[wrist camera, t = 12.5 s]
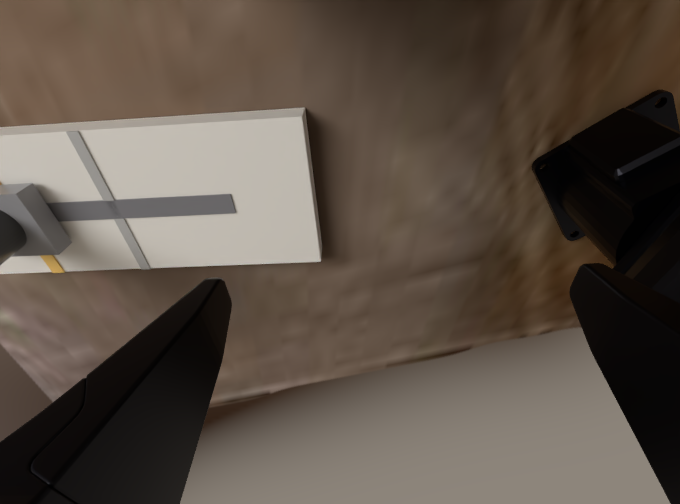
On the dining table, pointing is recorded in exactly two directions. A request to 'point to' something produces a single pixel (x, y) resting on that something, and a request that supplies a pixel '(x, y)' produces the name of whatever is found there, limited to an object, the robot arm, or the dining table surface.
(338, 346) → the dining table surface
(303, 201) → the fader console
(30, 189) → the lever
